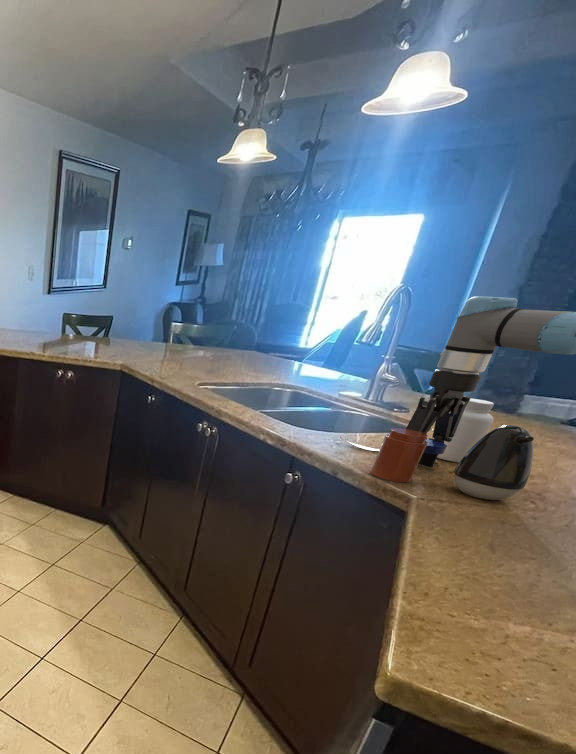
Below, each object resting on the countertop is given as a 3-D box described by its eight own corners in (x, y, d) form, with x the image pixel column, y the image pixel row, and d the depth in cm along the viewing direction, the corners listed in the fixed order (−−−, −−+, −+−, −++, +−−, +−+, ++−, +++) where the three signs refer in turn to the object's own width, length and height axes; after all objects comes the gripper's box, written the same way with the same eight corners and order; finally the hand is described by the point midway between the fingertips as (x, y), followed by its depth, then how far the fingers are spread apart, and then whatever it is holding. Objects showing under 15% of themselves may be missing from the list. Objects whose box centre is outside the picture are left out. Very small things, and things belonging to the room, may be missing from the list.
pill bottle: (476, 466, 119) (507, 406, 113) (432, 459, 123) (460, 400, 117) (466, 457, 125) (495, 400, 119) (425, 450, 129) (451, 395, 123)
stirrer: (342, 431, 129) (344, 427, 132) (336, 443, 131) (338, 440, 134) (443, 455, 118) (442, 450, 121) (436, 468, 119) (435, 463, 122)
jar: (413, 478, 110) (433, 433, 106) (406, 485, 106) (427, 439, 102) (374, 468, 115) (392, 425, 111) (366, 474, 111) (384, 430, 107)
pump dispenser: (462, 500, 100) (499, 428, 94) (436, 481, 108) (468, 415, 102) (528, 510, 96) (571, 436, 90) (495, 490, 105) (532, 422, 99)
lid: (393, 444, 117) (396, 437, 116) (413, 442, 119) (417, 435, 119) (430, 455, 111) (434, 448, 110) (451, 453, 113) (454, 445, 112)
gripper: (465, 366, 114) (422, 458, 123) (408, 368, 108) (368, 464, 117) (508, 373, 107) (459, 469, 117) (450, 375, 101) (403, 476, 110)
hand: (413, 466), depth 117 cm, fingers closed on lid, 7 cm apart
